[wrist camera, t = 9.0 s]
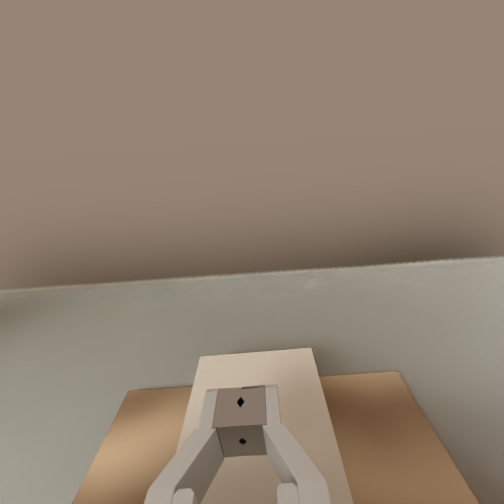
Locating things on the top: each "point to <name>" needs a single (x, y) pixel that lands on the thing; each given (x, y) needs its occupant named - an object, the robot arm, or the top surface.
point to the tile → (292, 415)
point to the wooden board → (345, 429)
